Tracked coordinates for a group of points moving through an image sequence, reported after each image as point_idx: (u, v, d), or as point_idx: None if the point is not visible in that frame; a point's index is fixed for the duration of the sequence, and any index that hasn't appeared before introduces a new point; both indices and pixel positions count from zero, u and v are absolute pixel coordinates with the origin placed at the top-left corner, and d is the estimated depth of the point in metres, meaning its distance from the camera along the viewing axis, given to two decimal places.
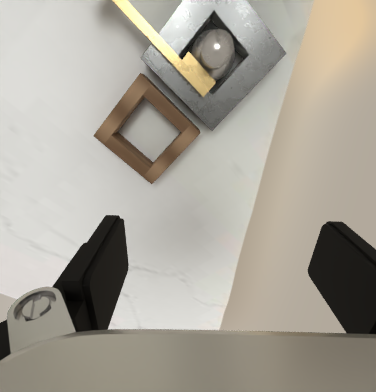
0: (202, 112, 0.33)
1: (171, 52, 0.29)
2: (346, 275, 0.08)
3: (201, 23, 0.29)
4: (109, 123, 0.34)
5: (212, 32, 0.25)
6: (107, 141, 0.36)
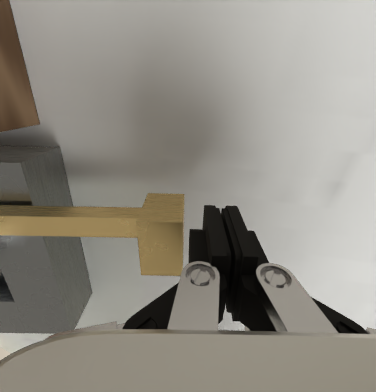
0: None
1: None
2: None
3: (7, 280, 0.15)
4: None
5: None
6: None
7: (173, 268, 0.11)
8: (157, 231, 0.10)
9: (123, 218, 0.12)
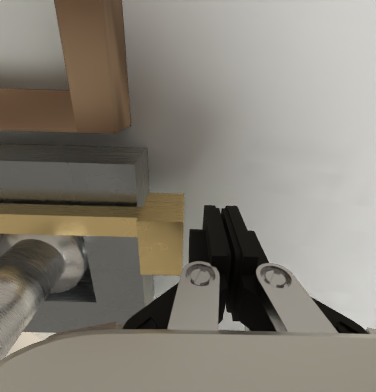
0: None
1: None
2: None
3: (94, 281, 0.15)
4: None
5: None
6: None
7: (173, 268, 0.11)
8: (157, 230, 0.10)
9: (123, 217, 0.12)
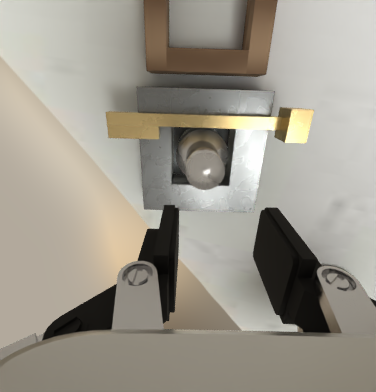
0: (166, 96, 0.23)
1: (173, 123, 0.22)
2: (272, 253, 0.09)
3: (232, 169, 0.26)
4: None
5: (221, 178, 0.21)
6: None
7: (302, 138, 0.21)
8: (300, 114, 0.20)
9: (271, 117, 0.22)
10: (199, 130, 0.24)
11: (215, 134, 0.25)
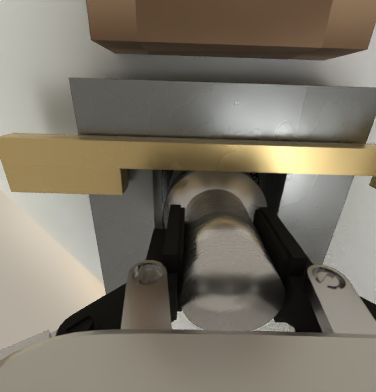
0: (138, 100, 0.10)
1: (154, 162, 0.10)
2: None
3: None
4: None
5: (272, 313, 0.08)
6: None
7: None
8: None
9: None
10: None
11: (244, 177, 0.12)
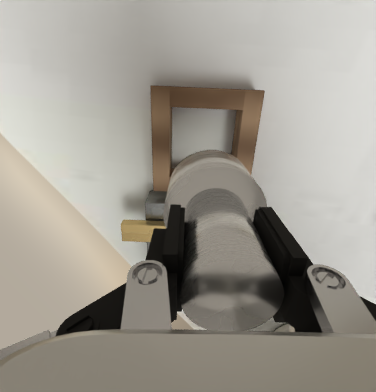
0: None
1: None
2: None
3: None
4: (252, 123, 0.25)
5: (271, 312, 0.08)
6: (243, 97, 0.24)
7: None
8: None
9: None
10: (210, 169, 0.12)
11: (243, 176, 0.12)
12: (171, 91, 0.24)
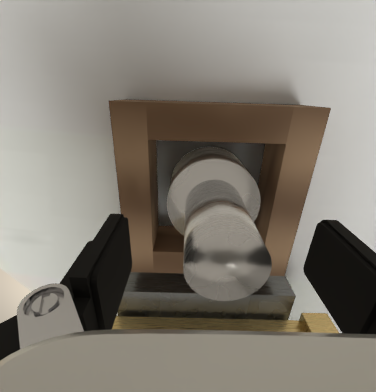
0: (153, 300, 0.17)
1: None
2: (340, 272, 0.09)
3: None
4: (301, 167, 0.13)
5: (261, 281, 0.09)
6: (288, 122, 0.12)
7: None
8: None
9: None
10: (209, 162, 0.13)
11: (239, 169, 0.13)
12: (150, 111, 0.12)
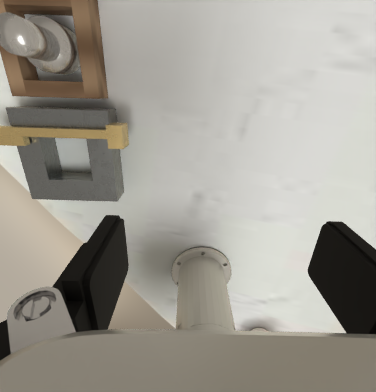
0: (28, 114, 0.31)
1: (33, 134, 0.31)
2: (346, 275, 0.08)
3: (92, 168, 0.34)
4: (83, 21, 0.27)
5: (28, 41, 0.23)
6: None
7: (119, 145, 0.30)
8: (112, 129, 0.29)
9: (102, 130, 0.31)
10: (36, 16, 0.27)
11: (51, 21, 0.27)
12: None
